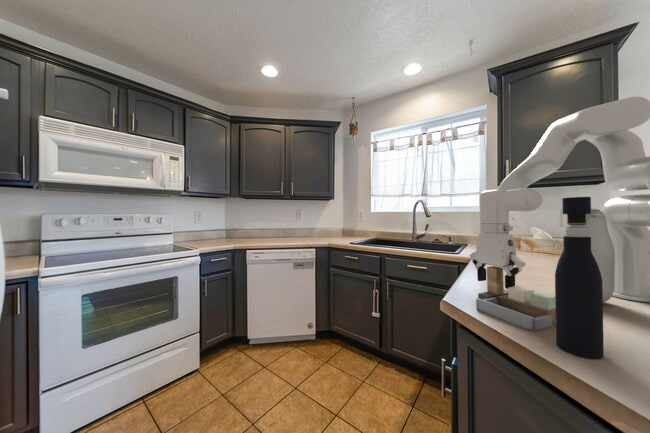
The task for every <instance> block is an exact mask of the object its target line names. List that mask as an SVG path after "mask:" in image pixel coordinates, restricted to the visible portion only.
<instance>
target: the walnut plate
mask: <svg viewBox="0 0 650 433" xmlns="http://www.w3.org/2000/svg"><path fill="white" fill-rule="evenodd" d="M497 305H499V306H502V307H505V308H508V309H511V310H514V311H517V312H519V313H522V314H525V315H528V316H531V317H534V318H537V317H541V316H546V315H550V316H552V324H556V309H553V310H546V309H542V308H539V307H536V306H533V305H530V302H526V303H523V302H520V301H516V300H513V299H510V298H508V295H503V296H498V301H497Z"/></svg>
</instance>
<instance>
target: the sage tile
mask: <svg viewBox="0 0 650 433" xmlns="http://www.w3.org/2000/svg"><path fill="white" fill-rule="evenodd" d="M530 305H533V306H536V307H539V308H542V309H546V310H553V309H556V304H555V294H552V293H548V292H543V291H536V292H535V291H534V293H530Z"/></svg>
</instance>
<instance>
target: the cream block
mask: <svg viewBox="0 0 650 433" xmlns="http://www.w3.org/2000/svg"><path fill="white" fill-rule="evenodd" d="M507 291H508V298H510V299H513V300H516V301H520V302H523V303H526V302H530V293H535V289H532V288H527V287H524V286H520V285H515V286H514V287H508V289H507Z"/></svg>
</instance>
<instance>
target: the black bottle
mask: <svg viewBox="0 0 650 433" xmlns="http://www.w3.org/2000/svg"><path fill="white" fill-rule="evenodd" d="M561 200H562V202H561V205H562V209H561V210H562V215H567V216H566V218H567V221H566V225H568V226H569V225H586V224H587V223H586V214H591V208H592V197H591V196H574V197H573V196H571V197H562V199H561ZM568 226H566V227H565V228H564V231H565V232H564V234H565V236H563V243H562V244H563V249H564V250H563V249H562V252H561V255H560V257H559V258H558V261H557V264H556V267H555V273H554V282H555V283H554V289H555V291H554V292H555V293H554V295H555V304H556V322H555V339H556V340H555V342H556V346H557V347H558V348H559V349H561V350H562V351H564V352H566V353H569V354H570V355H574V356H577V357H580V358H584V359H590V360H601V359H604V356H605V355H604V354H605V352H604V346H605V345H604V302H603V285H602V276H601V273H600V269H599V266H598V264H597V262H596V260H595V258H594V256H593V254H592V252H591V237H588V235H589V233H588V231H589V230H588V227H568Z"/></svg>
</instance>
